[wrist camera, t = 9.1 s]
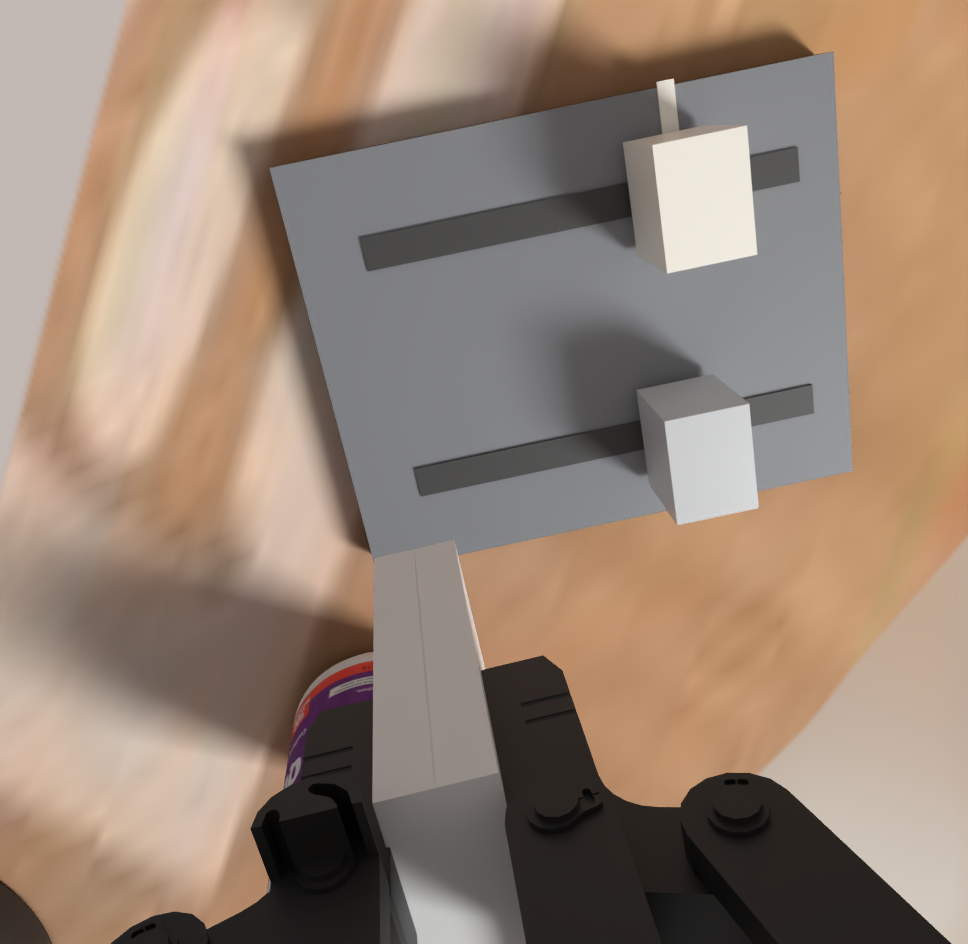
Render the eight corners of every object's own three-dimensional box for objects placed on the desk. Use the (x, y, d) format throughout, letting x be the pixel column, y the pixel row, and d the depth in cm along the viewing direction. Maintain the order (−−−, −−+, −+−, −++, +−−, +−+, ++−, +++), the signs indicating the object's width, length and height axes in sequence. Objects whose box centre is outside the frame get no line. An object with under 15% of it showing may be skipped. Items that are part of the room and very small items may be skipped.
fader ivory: (637, 256, 34) (667, 273, 30) (622, 142, 32) (652, 145, 28) (717, 239, 34) (757, 254, 30) (706, 124, 32) (746, 125, 28)
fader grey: (649, 484, 37) (677, 525, 33) (636, 390, 35) (664, 421, 32) (722, 468, 37) (758, 508, 33) (712, 374, 35) (749, 403, 32)
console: (378, 560, 39) (377, 577, 38) (273, 160, 33) (267, 162, 32) (836, 462, 39) (853, 476, 38) (814, 48, 33) (834, 45, 32)
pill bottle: (276, 658, 40) (217, 926, 27) (456, 624, 41) (486, 873, 27) (318, 803, 43) (283, 1109, 30) (486, 771, 44) (526, 1061, 30)
